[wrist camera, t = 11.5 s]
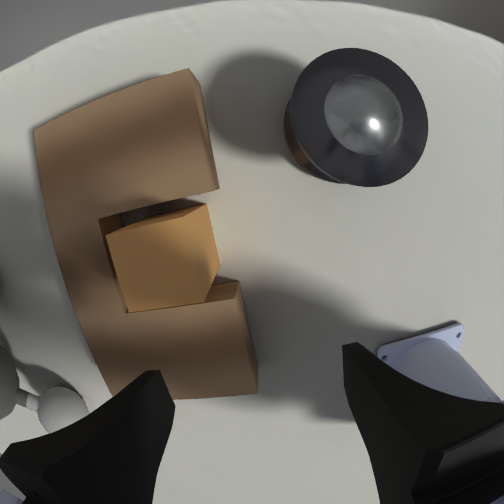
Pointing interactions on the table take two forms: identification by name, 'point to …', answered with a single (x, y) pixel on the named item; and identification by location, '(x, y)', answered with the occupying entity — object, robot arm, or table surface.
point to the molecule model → (39, 399)
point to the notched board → (108, 220)
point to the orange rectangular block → (165, 259)
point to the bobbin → (356, 119)
